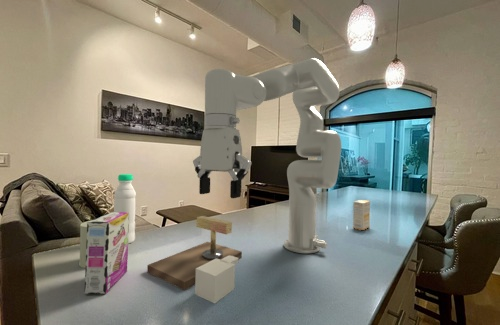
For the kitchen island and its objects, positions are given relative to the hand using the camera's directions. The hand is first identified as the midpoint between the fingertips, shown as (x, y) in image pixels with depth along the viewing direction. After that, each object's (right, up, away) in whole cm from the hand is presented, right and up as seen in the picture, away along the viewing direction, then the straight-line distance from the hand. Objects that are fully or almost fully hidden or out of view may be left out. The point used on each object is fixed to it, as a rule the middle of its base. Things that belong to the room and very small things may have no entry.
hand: (219, 195), depth 56 cm
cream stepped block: (0, -23, 0) cm, 23 cm away
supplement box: (+60, -24, +55) cm, 85 cm away
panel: (-8, -22, +12) cm, 27 cm away
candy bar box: (-28, -22, +2) cm, 35 cm away
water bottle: (-39, -22, +30) cm, 54 cm away
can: (-38, -22, +13) cm, 46 cm away
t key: (-4, -20, +14) cm, 25 cm away
